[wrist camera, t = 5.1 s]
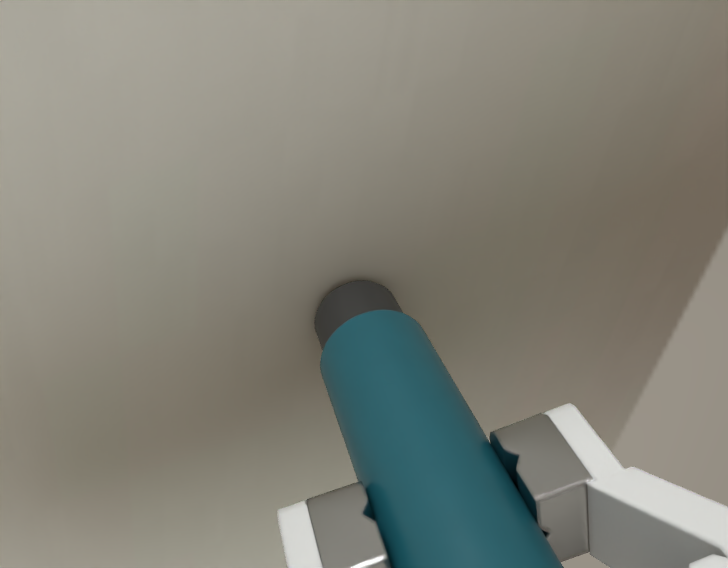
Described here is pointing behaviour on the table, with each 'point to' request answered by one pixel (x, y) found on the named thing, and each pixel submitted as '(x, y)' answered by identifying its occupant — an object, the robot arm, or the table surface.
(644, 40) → the table surface
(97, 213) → the table surface
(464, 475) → the marker
